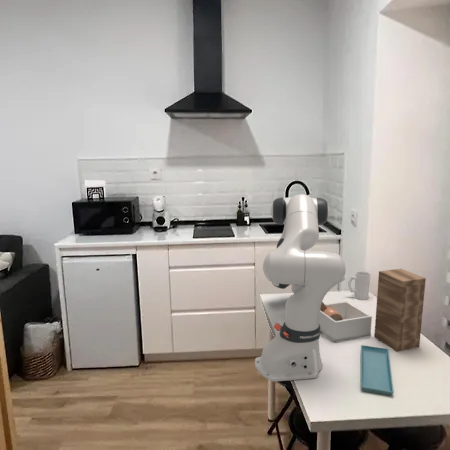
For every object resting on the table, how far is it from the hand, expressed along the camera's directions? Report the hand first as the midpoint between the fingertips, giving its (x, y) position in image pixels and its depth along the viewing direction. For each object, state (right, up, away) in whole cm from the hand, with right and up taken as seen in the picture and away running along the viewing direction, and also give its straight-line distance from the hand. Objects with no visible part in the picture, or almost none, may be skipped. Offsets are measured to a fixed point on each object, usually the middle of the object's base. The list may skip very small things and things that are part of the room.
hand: (330, 275), depth 166 cm
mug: (+21, -14, +30) cm, 39 cm away
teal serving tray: (+6, -28, -33) cm, 44 cm away
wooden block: (+21, -23, -14) cm, 34 cm away
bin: (+3, -21, -4) cm, 22 cm away
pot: (-4, -12, -1) cm, 13 cm away
